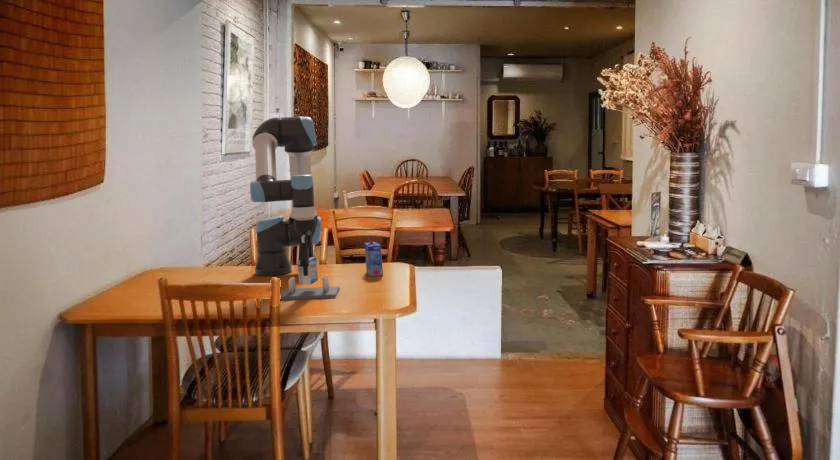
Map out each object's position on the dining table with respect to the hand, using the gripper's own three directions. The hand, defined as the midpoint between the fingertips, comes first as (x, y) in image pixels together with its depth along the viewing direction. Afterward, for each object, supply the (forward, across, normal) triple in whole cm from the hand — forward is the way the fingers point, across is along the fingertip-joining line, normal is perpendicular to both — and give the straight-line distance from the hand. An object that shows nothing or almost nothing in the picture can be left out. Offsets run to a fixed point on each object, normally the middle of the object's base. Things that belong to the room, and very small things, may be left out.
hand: (308, 281), depth 277 cm
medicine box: (+1, 0, 0) cm, 1 cm away
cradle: (+5, 0, 0) cm, 5 cm away
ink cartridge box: (+5, -36, +21) cm, 42 cm away
